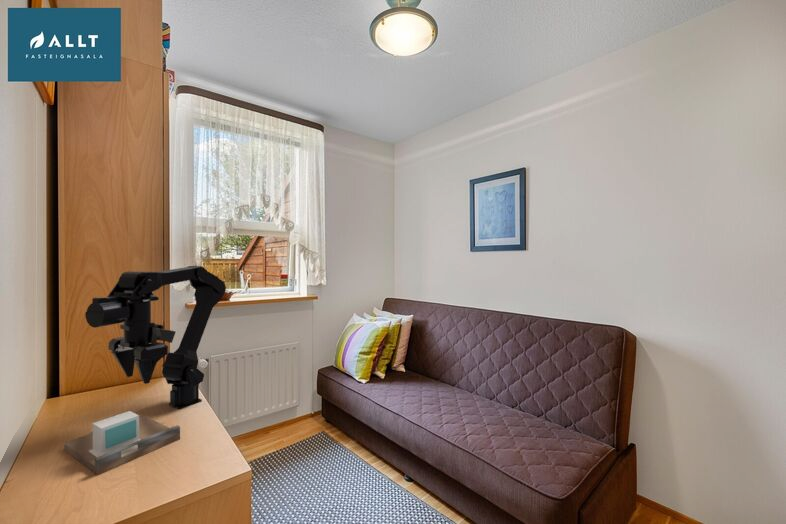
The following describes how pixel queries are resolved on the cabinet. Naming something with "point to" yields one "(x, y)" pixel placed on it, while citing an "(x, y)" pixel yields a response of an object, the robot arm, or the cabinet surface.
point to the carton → (115, 432)
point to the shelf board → (149, 440)
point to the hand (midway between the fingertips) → (138, 379)
